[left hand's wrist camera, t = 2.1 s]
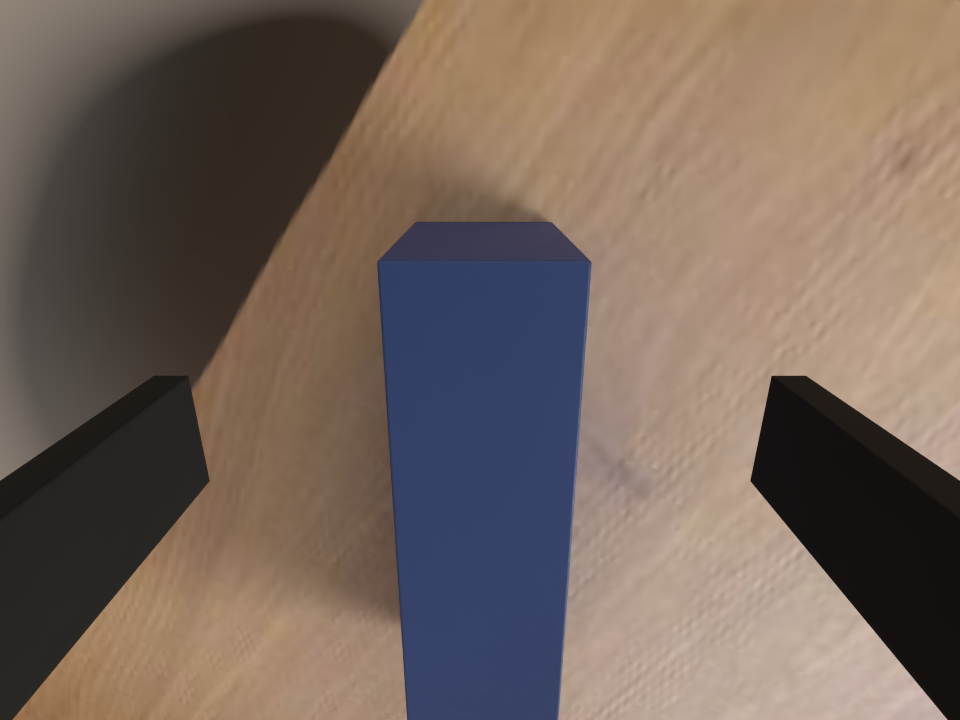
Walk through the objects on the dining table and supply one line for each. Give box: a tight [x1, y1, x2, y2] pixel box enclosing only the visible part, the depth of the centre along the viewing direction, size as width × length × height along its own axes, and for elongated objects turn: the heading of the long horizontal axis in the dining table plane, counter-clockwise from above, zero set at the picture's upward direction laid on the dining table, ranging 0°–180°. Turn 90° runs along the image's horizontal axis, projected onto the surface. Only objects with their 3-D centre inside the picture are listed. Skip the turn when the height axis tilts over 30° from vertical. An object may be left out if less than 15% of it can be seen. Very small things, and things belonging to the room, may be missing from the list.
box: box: [377, 222, 591, 720], centre depth 24 cm, size 24×6×10 cm, turn 0°
